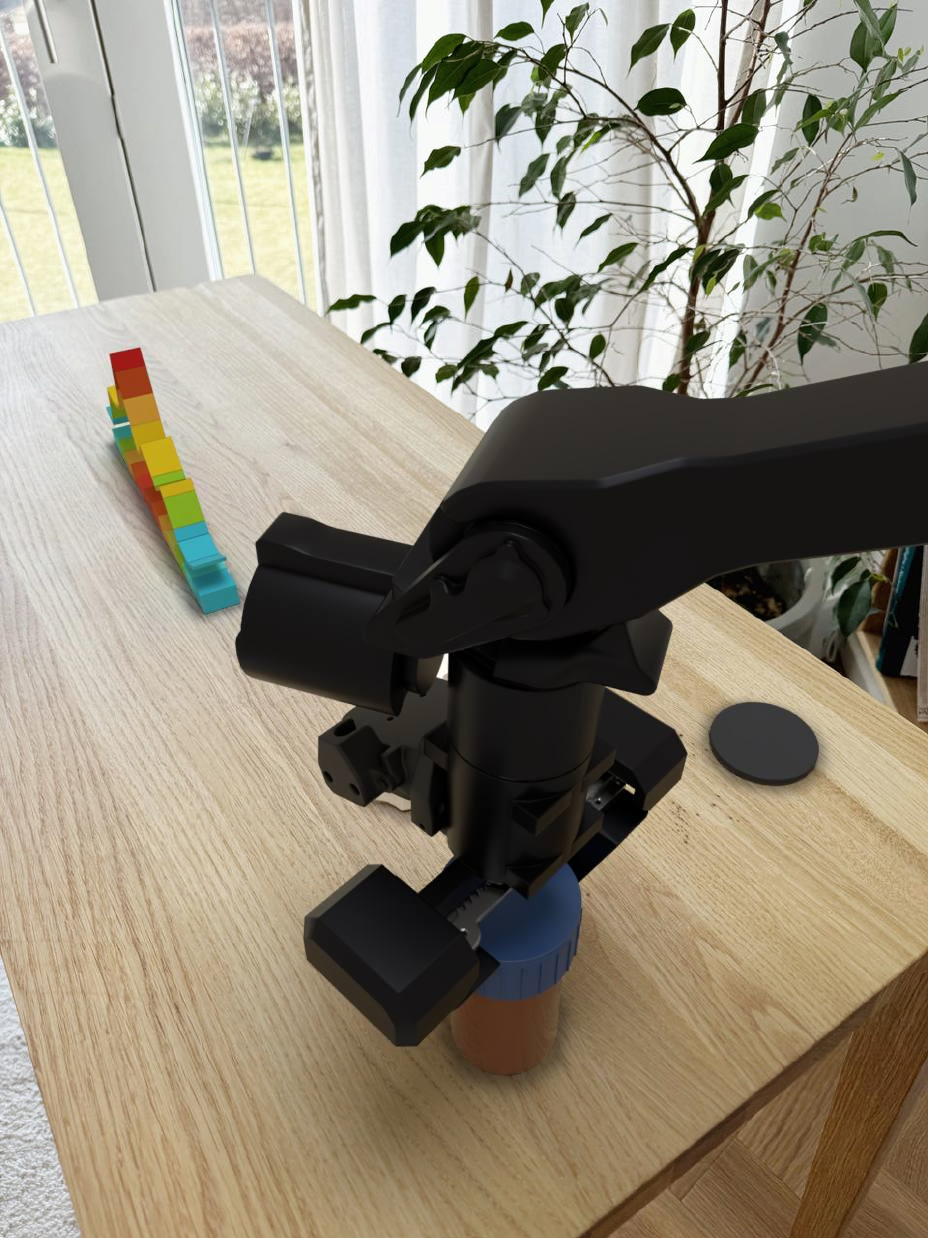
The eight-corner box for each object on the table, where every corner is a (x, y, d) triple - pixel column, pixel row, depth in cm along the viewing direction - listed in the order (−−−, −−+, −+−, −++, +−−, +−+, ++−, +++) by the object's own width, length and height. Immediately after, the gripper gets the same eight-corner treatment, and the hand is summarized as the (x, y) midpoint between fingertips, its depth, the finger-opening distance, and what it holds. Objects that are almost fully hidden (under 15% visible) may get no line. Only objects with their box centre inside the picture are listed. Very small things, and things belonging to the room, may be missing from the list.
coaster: (813, 715, 69) (815, 709, 68) (821, 793, 63) (823, 787, 63) (709, 701, 70) (710, 695, 69) (708, 776, 64) (709, 770, 64)
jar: (562, 984, 53) (576, 863, 46) (548, 1085, 49) (561, 969, 42) (462, 965, 54) (460, 843, 47) (440, 1063, 50) (434, 946, 43)
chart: (243, 602, 79) (210, 438, 69) (204, 614, 78) (165, 449, 68) (148, 438, 99) (112, 294, 90) (116, 445, 98) (77, 301, 89)
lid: (500, 852, 50) (501, 811, 48) (606, 932, 46) (612, 891, 44) (406, 939, 46) (402, 899, 44) (514, 1033, 42) (516, 994, 40)
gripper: (519, 533, 46) (502, 751, 56) (189, 746, 36) (242, 967, 46) (722, 644, 41) (662, 864, 51) (402, 935, 30) (409, 1139, 40)
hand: (501, 944), depth 47 cm, fingers closed on lid, 6 cm apart
